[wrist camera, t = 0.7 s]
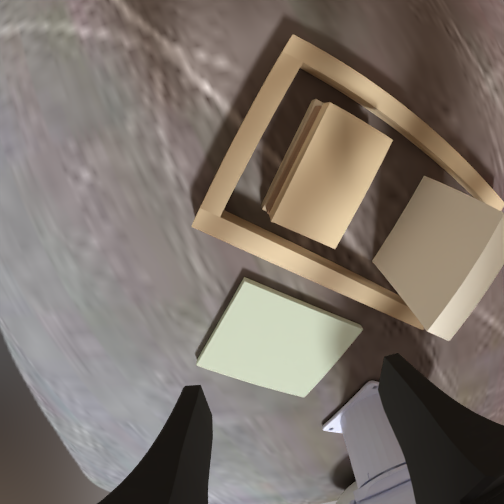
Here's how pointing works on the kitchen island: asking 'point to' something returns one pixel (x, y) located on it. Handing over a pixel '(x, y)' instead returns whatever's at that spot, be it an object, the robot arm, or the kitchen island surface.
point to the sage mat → (276, 340)
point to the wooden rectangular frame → (249, 134)
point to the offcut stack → (325, 173)
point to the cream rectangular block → (443, 255)
